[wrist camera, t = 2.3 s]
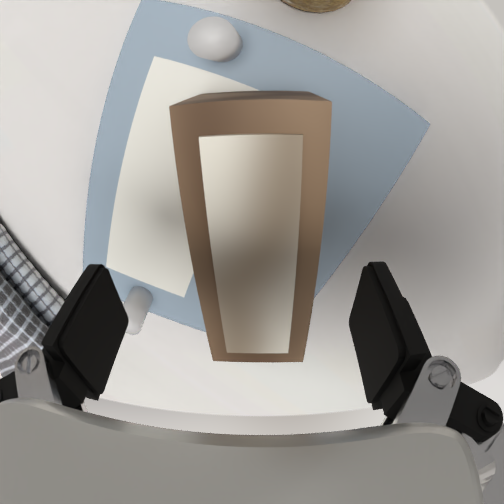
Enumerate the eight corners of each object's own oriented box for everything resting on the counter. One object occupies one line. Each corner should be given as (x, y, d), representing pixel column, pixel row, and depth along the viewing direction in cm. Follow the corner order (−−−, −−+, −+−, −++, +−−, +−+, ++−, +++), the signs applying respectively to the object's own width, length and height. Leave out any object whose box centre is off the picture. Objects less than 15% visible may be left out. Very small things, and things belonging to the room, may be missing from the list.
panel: (423, 121, 13) (460, 138, 9) (270, 343, 23) (269, 382, 20) (148, 0, 10) (115, -15, 6) (87, 277, 20) (65, 310, 17)
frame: (308, 91, 12) (333, 102, 8) (296, 299, 19) (303, 363, 15) (201, 93, 12) (167, 106, 8) (222, 299, 20) (212, 363, 15)
